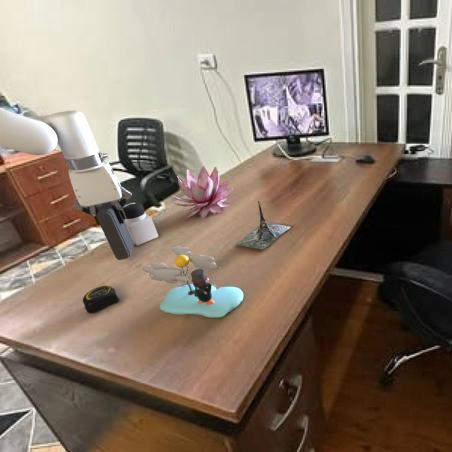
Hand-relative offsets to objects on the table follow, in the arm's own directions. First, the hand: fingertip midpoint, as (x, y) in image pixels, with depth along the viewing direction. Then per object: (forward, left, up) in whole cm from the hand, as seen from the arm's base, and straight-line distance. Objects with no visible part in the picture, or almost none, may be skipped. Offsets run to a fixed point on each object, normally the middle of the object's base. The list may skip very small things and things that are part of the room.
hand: (113, 223), depth 98 cm
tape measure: (-5, -20, -13) cm, 24 cm away
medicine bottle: (+4, +12, -13) cm, 18 cm away
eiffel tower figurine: (+39, -10, -13) cm, 42 cm away
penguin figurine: (+17, -33, -13) cm, 39 cm away
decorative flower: (+26, +20, -13) cm, 35 cm away
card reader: (0, 0, -10) cm, 10 cm away
